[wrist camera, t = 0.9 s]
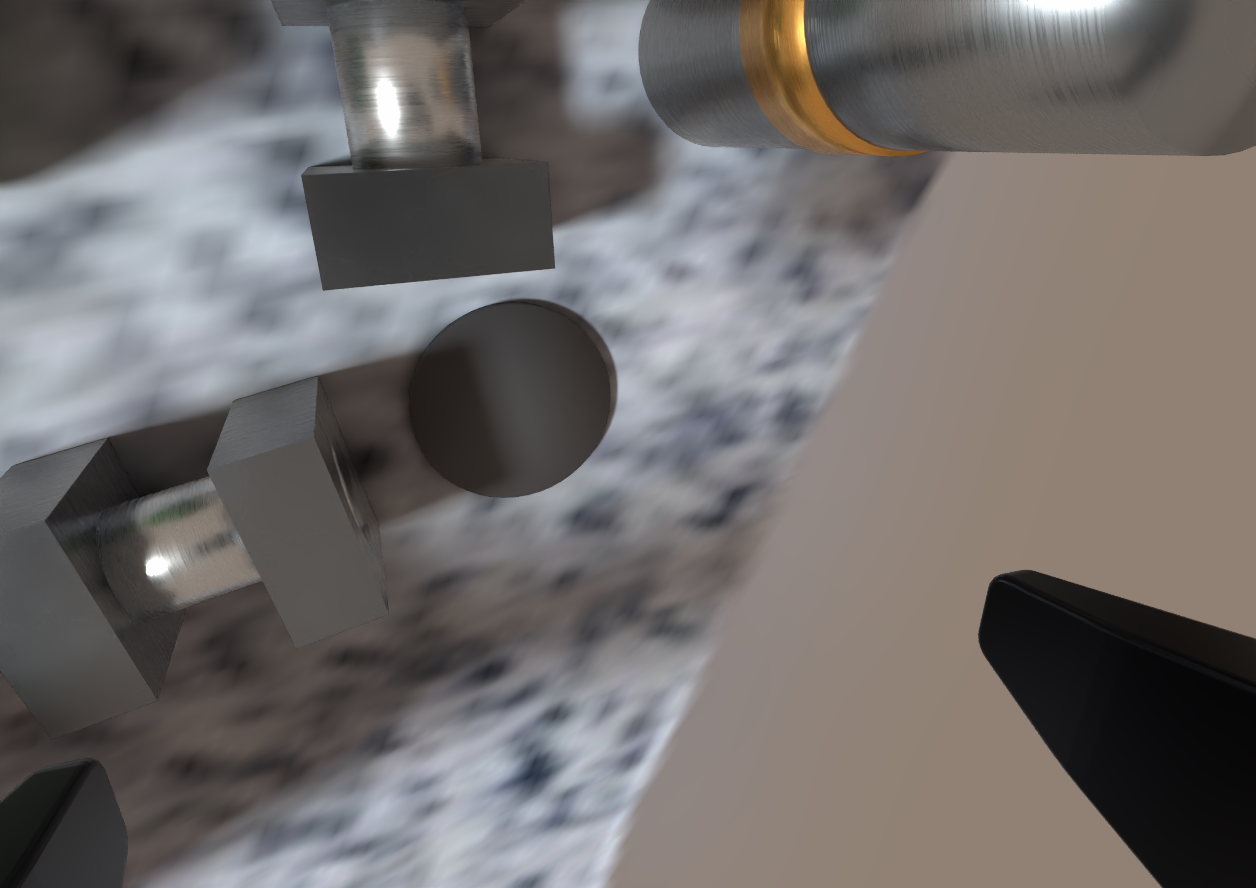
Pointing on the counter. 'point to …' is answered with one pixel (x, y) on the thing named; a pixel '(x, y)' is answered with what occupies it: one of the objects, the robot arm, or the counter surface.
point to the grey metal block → (178, 555)
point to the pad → (509, 400)
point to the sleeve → (955, 75)
